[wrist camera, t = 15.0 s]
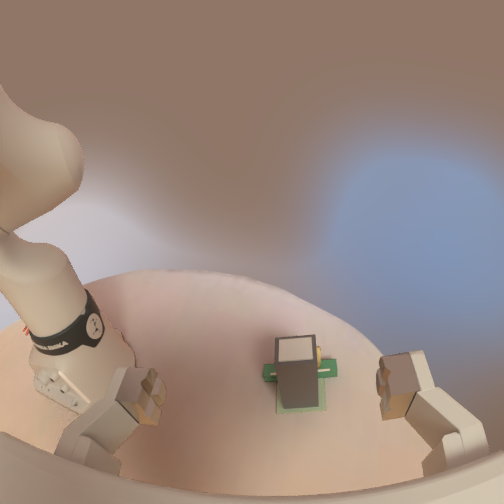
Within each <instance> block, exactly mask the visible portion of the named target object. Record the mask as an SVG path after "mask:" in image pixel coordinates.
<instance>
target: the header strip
mask: <svg viewBox="0 0 504 504" xmlns="http://www.w3.org/2000/svg"><path fill="white" fill-rule="evenodd" d="M316 350H317V363H318V378H326V377H335V376H337V364H336V359H329V360H321V349H320V347H319V346H317V347H316ZM263 377H264V380H265V382H271V381H278V380H277V376H276V371H275V366H274V364H264V373H263Z"/></svg>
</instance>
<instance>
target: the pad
mask: <svg viewBox="0 0 504 504" xmlns="http://www.w3.org/2000/svg"><path fill="white" fill-rule="evenodd" d="M318 397H319V407H307V408H292V409H284V408H283V403H282V399H281V394H280V389H279V385H278V384H277V409H276V414H284V413H302V412H315V411H326V397H325V383H324V378H318Z"/></svg>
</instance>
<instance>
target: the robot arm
mask: <svg viewBox="0 0 504 504" xmlns="http://www.w3.org/2000/svg"><path fill="white" fill-rule="evenodd" d="M83 173H84V157H83V152H82V148H81V146H80V144H79V142H78V140H77V138H76V137H75V136H74V135H73V134H72V132H71V131H69V130H68V129H67V128H65V127H64V126H62V125H60V124H57V123H52V122H47V121H43V120H40V119H38V118H35V117H33V116H31V115H29V114H27V113H25V112H24V111H22V110H21V109H20V108H19V107H18V106H16V105H15V104H14V103H13V102H12V101H11V100H10V98H9V97H8V96H7V95H6V93H5V91H4V90H3V88H2V86H1V84H0V292H1V293H2V294H3V295H4V296H5V297H6V299H7V300H8V301H9V303H10V304H11V305H12V307H13V308H14V310H15V311H16V312H17V314H18V315H19V316H20V318H21V319H22V320H23V322H24V323H25V325H26V327H25V328H24V330H23V332H24V331H25V330H26V329H27V327H28V329H27V332H26V336H27V335H28V333H30V336H31V339H32V342H33V347H32V350H31V353H30V357H29V363H30V366H31V368H32V369H33V370H34V371H35V377H34V387H35V389H36V390H37V391H39V392H40V393H42V394H44V395H45V396H47V397H49V398H50V399H52V400H54V401H56V402H57V403H59V404H61V405H63V406H65V407H67V408H68V409H70V410H72V411H74V412H76V413H78V414H81V415H80V416H79V417H78V418H77V419H76V420H74V421H73V422H72V423H71V424H70V425H68V426H67V427H66V428H65V429H64V430H63V433H62V435H61V438H60V440H59V443H58V445H57V448H56V450H55V453H54V454H52V453H49V452H47V451H44V450H42V449H40V448H37V447H35V446H33V445H31V444H28V443H26V442H24V441H22V440H20V439H18V438H16V437H14V436H12V435H10V434H8V433H6V432H0V504H504V449H502V450H500V451H497V452H495V453H493V454H490V451H489V447H488V444H487V440H486V436H485V433H484V429H483V426H482V423H481V422H480V421H479V420H477V418H475V417H474V416H473V415H472V414H471V413H470V412H468V411H467V410H466V409H465V408H464V407H462V406H461V405H460V404H459V403H457V402H456V401H455V400H454V399H453V398H451V397H450V396H449V395H448V394H447V393H445V392H444V391H443V390H442V389H441V388H439V387H436V388H435V386H434V382H433V379H432V376H431V373H430V370H429V367H428V364H427V361H426V358H425V355H424V352H423V351H422V350H417V351H412V352H404V353H399V354H394V355H389V356H382V357H380V360H379V366H380V368H379V369H378V370H377V374H376V386H377V393H378V395H379V396H380V397H381V398H382V399H381V402H380V410H381V415H382V421H383V420H390V419H396V418H402V417H405V419H406V420H407V421H408V422H409V424H410V425H411V426H412V427H413V428H414V429H415V430H416V431H417V432H418V434H419V435H420V436H421V437H422V438H423V439H424V440H425V441H426V442H427V444H428V445H429V446H430V447H431V448H432V449H433V450H432V451H431V452H430V453H429V454H428V456H427V457H426V458H425V459H424V460H423V461H422V468H423V475H424V477H421V478H418V479H413V480H409V481H405V482H401V483H396V484H391V485H386V486H381V487H375V488H369V489H363V490H356V491H348V492H340V493H330V494H318V495H301V496H246V495H229V494H217V493H207V492H199V491H191V490H184V489H178V488H172V487H166V486H161V485H156V484H151V483H146V482H141V481H137V480H133V479H129V478H125V477H121V476H119V472H120V468H121V465H122V463H121V461H120V460H118V459H117V458H116V457H114V456H113V454H114V452H115V451H116V450H117V449H118V448H119V447H120V446H121V445H122V444H123V443H124V442H125V440H126V439H127V438H128V437H129V436H130V435H131V434H132V433H133V432H134V430H135V429H136V428H137V427H138V426H139V424H145V425H155V426H158V423H159V419H160V416H161V409H160V406H161V405H162V404H163V403H164V401H165V398H166V388H165V384H164V383H163V381H162V380H161V379H159V378H157V372H156V371H155V370H154V369H151V368H136V367H135V356H134V352H133V350H132V349H131V347H130V346H129V345H128V344H126V342H125V341H124V340H123V337H122V334H121V332H120V331H119V330H118V329H114V328H113V326H112V325H111V324H110V322H109V321H108V320H107V318H106V317H105V316H104V315H103V313H102V312H101V311H100V309H99V308H98V306H97V305H96V303H95V301H94V299H93V297H92V296H91V295H90V293H89V292H88V291H87V290H86V289H85V288H83V286H82V284H81V282H80V281H79V279H78V277H77V275H76V273H75V271H74V269H73V267H72V265H71V263H70V261H69V259H68V257H67V255H66V254H65V253H64V252H63V251H62V250H60V249H59V248H57V247H56V246H54V245H51V244H47V243H32V242H27V241H25V240H23V239H21V238H19V237H18V236H17V235H16V234H15V233H14V232H13V231H14V230H15V229H17V228H19V227H21V226H23V225H24V224H26V223H28V222H30V221H32V220H34V219H36V218H38V217H40V216H42V215H43V214H45V213H47V212H49V211H51V210H53V209H54V208H55V207H56V206H58V205H59V204H61V203H62V202H63V201H65V200H66V199H67V198H68V197H70V196H71V195H72V194H74V193H75V192H76V191H77V190H78V189H79V187H80V184H81V181H82V178H83Z"/></svg>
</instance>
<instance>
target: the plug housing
mask: <svg viewBox="0 0 504 504" xmlns="http://www.w3.org/2000/svg"><path fill="white" fill-rule="evenodd" d="M274 366H275V371H276V376H277V380H278V385H279V389H280V394H281V399H282V403H283V408H284V409H292V408H307V407H319V397H318V363H317V350H316V338H315V335H304V336H292V337H280V338H275V363H274Z"/></svg>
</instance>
